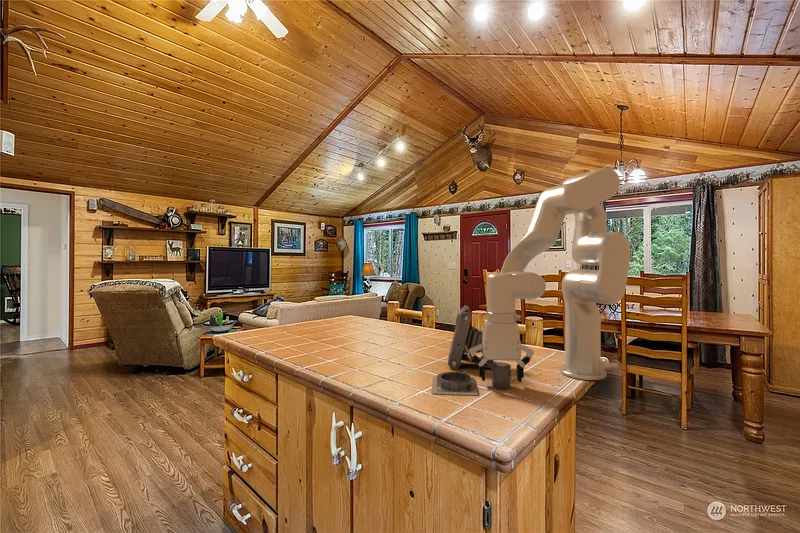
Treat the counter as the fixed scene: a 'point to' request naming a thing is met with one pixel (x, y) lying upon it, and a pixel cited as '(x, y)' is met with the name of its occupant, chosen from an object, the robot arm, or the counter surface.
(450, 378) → the mount
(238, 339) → the counter surface
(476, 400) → the counter surface
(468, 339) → the camera
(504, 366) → the dark grey cylinder
